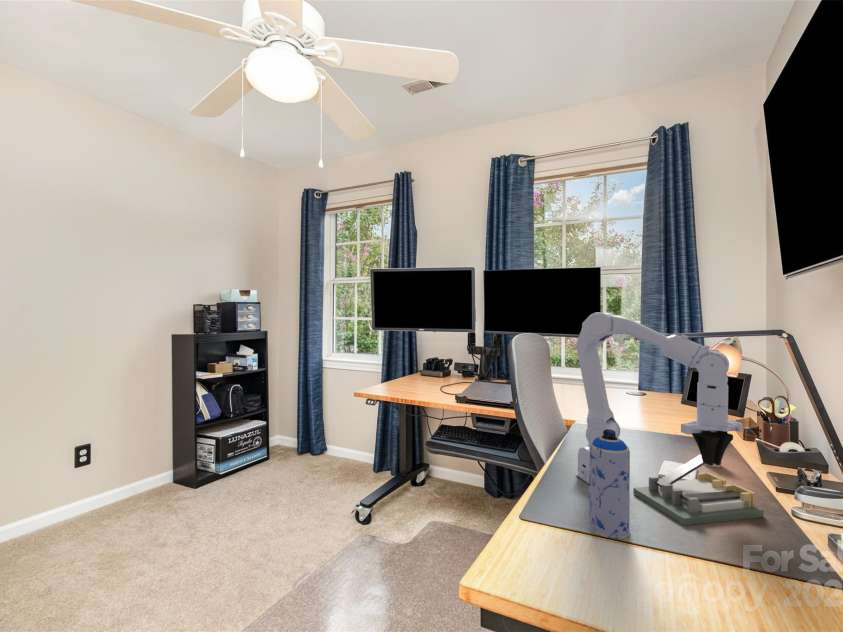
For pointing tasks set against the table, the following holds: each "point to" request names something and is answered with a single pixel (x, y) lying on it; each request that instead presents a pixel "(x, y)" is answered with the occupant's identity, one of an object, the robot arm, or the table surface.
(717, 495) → the strap front
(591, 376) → the robot arm
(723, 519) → the board
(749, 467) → the table surface
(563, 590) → the table surface
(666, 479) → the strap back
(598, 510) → the aerosol can
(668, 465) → the external hard drive
